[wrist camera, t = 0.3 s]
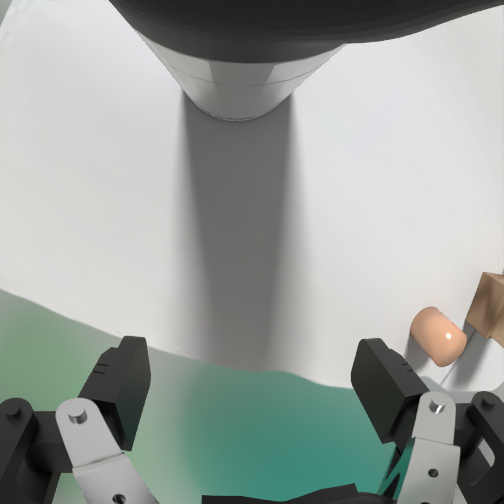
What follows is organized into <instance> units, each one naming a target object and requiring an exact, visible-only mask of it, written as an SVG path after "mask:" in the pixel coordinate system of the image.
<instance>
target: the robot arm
mask: <svg viewBox="0 0 504 504" xmlns="http://www.w3.org/2000/svg"><path fill="white" fill-rule="evenodd" d="M109 1H110V2H111V3H112V5H113V6H114V7H115V8H116V9H117V10H118V11H119V13H120V14H121V15H122V16H123V17H124V18H125V20H126V21H127V22H128V23H129V24H130V25H131V26H132V28H133V29H134V30H135V31H136V32H137V34H138V35H139V36H140V37H141V38H142V39H143V41H144V42H145V43H146V44H147V45H148V47H149V48H150V49H151V50H152V52H153V53H154V54H155V55H156V56H157V57H158V58H159V60H160V61H161V62H162V63H163V65H164V66H165V67H166V68H167V70H168V71H169V72H170V73H171V75H172V76H173V77H174V78H175V80H176V81H177V82H178V84H179V85H180V86H181V87H182V89H183V90H184V91H185V93H186V94H187V95H188V96H189V98H190V99H191V100H192V101H193V102H194V103H195V105H196V106H197V107H198V108H200V109H201V110H202V111H204V112H205V113H207V114H209V115H211V116H213V117H215V118H218V119H223V120H227V121H245V120H252V119H255V118H257V117H260V116H263V115H265V114H266V113H268V112H270V111H271V110H273V109H274V108H275V107H276V106H277V105H278V104H279V103H280V102H282V101H283V100H284V99H285V98H286V97H287V96H288V95H290V94H291V93H292V92H293V91H294V90H295V89H296V88H297V87H298V86H299V85H300V84H302V83H303V82H304V81H305V80H306V79H307V78H308V77H309V76H311V75H312V74H313V73H314V72H315V71H316V70H317V69H319V68H320V67H321V66H322V65H323V64H324V63H325V62H327V61H328V60H329V59H330V58H331V57H332V56H333V55H334V54H336V53H337V52H338V51H339V50H340V49H342V48H343V47H344V46H345V45H346V44H350V43H367V42H378V41H384V40H390V39H395V38H400V37H403V36H407V35H411V34H414V33H417V32H420V31H423V30H425V29H428V28H431V27H434V26H437V25H439V24H442V23H445V22H447V21H450V20H453V19H456V18H459V17H462V16H465V15H468V14H472V13H475V12H478V11H482V10H485V9H489V8H493V7H496V6H500V5H504V0H109ZM150 381H151V372H150V365H149V358H148V351H147V343H146V339H145V338H144V337H136V336H124V337H123V339H122V341H121V343H120V345H119V347H118V348H114V347H111V348H110V349H108V350H107V351H105V352H104V353H103V354H101V356H100V358H99V360H98V361H97V364H96V365H95V367H94V368H93V370H92V372H91V374H90V376H89V377H88V379H87V381H86V383H85V385H84V386H83V388H82V390H81V392H80V394H79V396H78V397H77V398H73V399H70V400H67V401H65V402H63V403H62V404H61V405H60V406H59V407H58V409H57V410H56V411H33V409H32V407H31V405H30V403H29V402H28V401H26V400H24V399H22V398H11V399H7V400H6V401H4V402H2V403H1V404H0V504H52V501H53V497H54V494H55V491H56V487H57V484H58V481H59V477H60V474H61V473H73V474H74V476H75V479H76V481H77V483H78V485H79V487H80V490H81V492H82V494H83V496H84V498H85V500H86V502H87V504H159V502H158V501H157V500H156V498H155V497H154V496H153V494H152V493H151V492H150V490H149V489H148V487H147V486H146V485H145V483H144V482H143V480H142V479H141V477H140V476H139V474H138V473H137V471H136V470H135V468H134V467H133V465H132V464H131V462H130V460H129V459H128V457H127V456H126V454H125V453H124V452H122V451H121V450H126V451H131V450H132V446H133V442H134V439H135V435H136V432H137V428H138V425H139V421H140V418H141V414H142V410H143V407H144V404H145V400H146V397H147V394H148V390H149V387H150ZM351 383H352V386H353V388H354V390H355V392H356V394H357V395H358V397H359V399H360V401H361V403H362V405H363V407H364V409H365V411H366V413H367V415H368V417H369V419H370V421H371V423H372V425H373V426H374V428H375V430H376V432H377V434H378V436H379V438H380V440H381V442H382V444H384V443H389V442H393V441H394V442H395V444H396V446H395V447H394V449H393V452H392V454H391V457H390V460H389V463H388V466H387V469H386V471H385V474H384V477H383V479H382V482H381V484H380V486H379V489H378V490H377V492H376V494H373V493H367V492H358V491H357V489H356V486H355V483H353V484H348V485H343V486H338V487H333V488H326V489H320V490H317V491H315V492H312V493H309V494H306V495H303V496H301V497H298V498H295V499H291V500H288V501H284V502H277V501H270V500H262V499H256V498H250V497H244V496H208V495H202V504H453V500H454V495H455V489H456V483H457V484H458V486H459V488H460V490H461V492H462V494H463V496H464V498H465V500H466V502H467V504H504V403H503V402H502V401H501V400H500V398H499V397H498V396H496V395H494V394H493V393H490V392H487V391H481V392H478V393H476V394H475V395H474V397H473V399H472V401H471V402H470V403H461V404H455V403H454V401H453V400H452V399H451V398H450V397H449V396H448V395H446V394H444V393H441V392H437V391H430V390H429V389H428V388H427V387H426V385H425V384H424V383H423V382H422V380H421V379H420V378H419V377H418V375H417V374H416V373H415V372H414V371H413V369H412V368H411V367H410V365H408V363H407V362H406V360H405V359H404V358H403V357H402V356H401V355H400V354H398V353H397V352H395V351H394V350H392V349H389V348H388V347H387V346H386V344H385V343H384V342H383V341H382V339H380V338H372V339H362V340H361V341H360V342H359V345H358V348H357V352H356V356H355V360H354V363H353V367H352V371H351ZM483 439H485V441H486V442H487V444H488V445H489V447H490V448H491V450H492V451H493V453H494V456H495V461H494V464H493V466H492V467H490V465H489V463H488V462H487V460H486V459H485V457H484V456H483V454H482V453H481V451H480V450H479V448H478V446H479V445H480V444H481V442H482V441H483Z"/></svg>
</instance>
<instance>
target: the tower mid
mask: <svg viewBox="0 0 504 504" xmlns="http://www.w3.org/2000/svg"><path fill="white" fill-rule="evenodd" d="M490 336H491V337H492V338H493V339H494V340H495V341H496V342H498V343H499V344H500V345H501V346H502V347H503V348H504V302H503V305H502V307H501V310H500V312H499V314H498V317H497V319H496V321H495V324H494V326H493V328H492V330H491V332H490Z"/></svg>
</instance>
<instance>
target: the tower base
mask: <svg viewBox="0 0 504 504" xmlns="http://www.w3.org/2000/svg"><path fill="white" fill-rule="evenodd" d="M503 302H504V275H500V274H493V273H487V272H483V274H482V277H481V279H480V282H479V285H478V288H477V291H476V293H475V296H474V299H473V301H472V304H471V306H470V309H469V311H468V314H467V316H466V319H465V321H466V322H468V323H469V324H470V325H471V326H472V327H473V328H474V329H476V330H477V331H478V332H479V333H480V334H481V335H482V336H483V337H484V338H486V339H487V338H492V337H491V336H490V332H491V330H492V328H493V326H494V324H495V321H496V319H497V317H498V314H499V312H500V310H501V307H502V305H503Z"/></svg>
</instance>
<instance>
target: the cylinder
mask: <svg viewBox="0 0 504 504" xmlns="http://www.w3.org/2000/svg"><path fill="white" fill-rule="evenodd" d="M410 332H411V335H412V337H413V338H414V339H415V340H416V341H417V342H418V344H419V345H420V346H421V347H422V348H423V349H424V351H425V352H426V353H427V354H428V355H429V357H430V358H431V359H432V360H433V361H434V363H435V364H436V365H437V366H438V367H445V366H448V365H450V364H451V363H453V362H454V361H455V360H456V359H457V358H458V357H459V356H460V355H461V354H462V352H463V350H464V348H465V346H466V342H467V337H466V335H465V334H464V333H463V332H462V331H461V330H460V329H459V328H458V327H457V326H456V325H455V324H454V323H453V322H451V321H450V320H449V319H448V318H447V317H446V316H445V315H444V314H443V313H442V312H440V311H439V310H438V309H437V308H436V307H427V308H425V309H423V310H422V311H420V312H419V313H418V314H417V315H416V317H415V318H414V320H413V322H412V324H411V328H410Z"/></svg>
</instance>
